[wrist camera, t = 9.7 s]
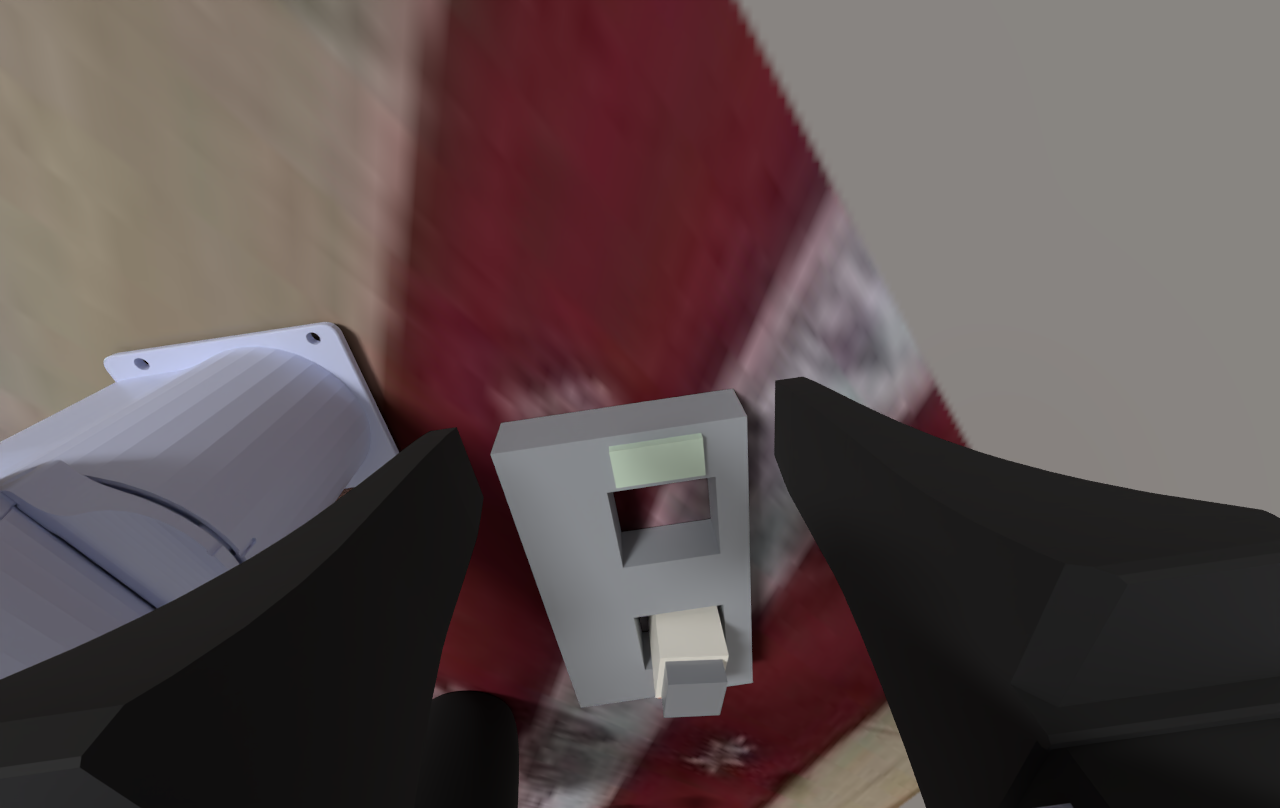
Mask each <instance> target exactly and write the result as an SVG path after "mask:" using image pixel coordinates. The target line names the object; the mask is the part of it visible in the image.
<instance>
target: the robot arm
mask: <svg viewBox="0 0 1280 808" xmlns="http://www.w3.org/2000/svg"><path fill="white" fill-rule="evenodd" d="M311 332H312V333H316V334H317V335H318V336H319V337H320V340H321V341H318V340H316V339H314V338H313V337H312V334H311ZM143 360H145V361H146V362H148V364H149V365H148V364H146V363H145V362H144V361H143ZM104 366H105V368H106V370H107V371H108V372H109V374H110V375H111V376H112V378H113V379H114V380H115V383H113V384H112V385H110V386H108V387H106V388H104V389H102V390H100V391H98V392H96V393H94V394H92V395H90V396H88V397H86V398H84V399H83V400H81V401H79V402H77V403H75V404H73V405H71V406H69V407H67V408H65V409H63V410H61V411H59V412H57V413H55V414H54V415H52V416H50V417H48V418H46V419H44V420H42V421H40V422H38V423H36V424H34V425H32V426H30V427H28V428H26V429H24V430H23V431H21V432H19V433H17V434H15V435H13V436H11V437H9V438H7V439H5V440H3V441H1V442H0V808H414V806H415V799H416V792H417V786H418V779H419V772H420V766H421V759H422V753H423V747H424V741H425V736H426V730H427V725H428V719H429V713H430V708H431V702H432V697H433V692H434V687H435V682H436V678H437V673H438V668H439V663H440V658H441V654H442V649H443V645H444V642H445V638H446V634H447V631H448V627H449V624H450V621H451V618H452V615H453V612H454V609H455V605H456V602H457V599H458V596H459V593H460V590H461V587H462V584H463V581H464V578H465V574H466V571H467V568H468V565H469V562H470V559H471V555H472V552H473V549H474V546H475V542H476V539H477V535H478V529H479V524H480V518H481V511H482V504H483V494H482V492H481V489H480V487H479V484H478V482H477V479H476V476H475V474H474V471H473V469H472V466H471V463H470V461H469V458H468V456H467V453H466V451H465V448H464V445H463V443H462V440H461V438H460V435H459V432H458V430H457V427H456V428H449V429H442V430H435V431H430V432H428V433H426V434H425V435H423V436H421V437H420V438H418V439H417V440H416V441H414V442H413V443H412V444H410V445H409V446H408V447H406V448H405V449H404V450H402V451H401V452H400V453H399V451H398V449H397V447H396V445H395V443H394V440H393V438H392V436H391V434H390V432H389V430H388V428H387V426H386V424H385V421H384V419H383V417H382V415H381V413H380V411H379V409H378V407H377V405H376V402H375V400H374V398H373V396H372V394H371V392H370V390H369V388H368V386H367V383H366V381H365V379H364V377H363V375H362V373H361V371H360V369H359V367H358V364H357V362H356V360H355V358H354V356H353V354H352V352H351V350H350V348H349V345H348V343H347V341H346V339H345V337H344V335H343V333H342V331H341V330H340V328H339V327H338V326H336V325H335V324H333V323H330V322H321V323H314V324H307V325H301V326H294V327H287V328H281V329H274V330H267V331H261V332H254V333H247V334H241V335H234V336H227V337H221V338H214V339H207V340H201V341H194V342H187V343H181V344H174V345H167V346H161V347H154V348H147V349H141V350H134V351H127V352H121V353H116V354H113V355H111V356H108V357H106V358H105V360H104ZM774 455H775V458H776V461H777V463H778V466H779V469H780V471H781V474H782V477H783V479H784V482H785V484H786V487H787V489H788V492H789V494H790V496H791V497H792V499H793V501H794V503H795V505H796V507H797V508H798V510H799V512H800V514H801V516H802V518H803V519H804V521H805V523H806V525H807V527H808V528H809V530H810V532H811V534H812V536H813V537H814V539H815V541H816V543H817V545H818V546H819V548H820V550H821V552H822V554H823V555H824V557H825V559H826V561H827V563H828V564H829V566H830V568H831V570H832V572H833V573H834V575H835V577H836V579H837V581H838V583H839V585H840V587H841V589H842V591H843V594H844V596H845V598H846V601H847V603H848V605H849V608H850V610H851V612H852V615H853V617H854V619H855V622H856V624H857V626H858V629H859V631H860V633H861V636H862V638H863V641H864V643H865V646H866V648H867V651H868V653H869V656H870V658H871V661H872V663H873V666H874V668H875V671H876V673H877V676H878V678H879V680H880V683H881V685H882V688H883V691H884V693H885V696H886V699H887V701H888V704H889V707H890V709H891V712H892V715H893V717H894V720H895V722H896V725H897V728H898V730H899V733H900V736H901V738H902V741H903V744H904V746H905V749H906V752H907V755H908V758H909V760H910V763H911V766H912V769H913V772H914V775H915V777H916V780H917V783H918V786H919V789H920V792H921V794H922V797H923V800H924V803H925V806H926V808H1280V518H1278V517H1277V516H1275V515H1273V514H1271V513H1269V512H1266V511H1264V510H1259V509H1253V508H1246V507H1240V506H1233V505H1227V504H1220V503H1214V502H1207V501H1201V500H1194V499H1187V498H1180V497H1174V496H1167V495H1161V494H1155V493H1149V492H1144V491H1138V490H1133V489H1128V488H1123V487H1118V486H1113V485H1108V484H1103V483H1098V482H1093V481H1088V480H1084V479H1079V478H1075V477H1071V476H1066V475H1062V474H1058V473H1053V472H1049V471H1046V470H1042V469H1038V468H1034V467H1030V466H1027V465H1023V464H1019V463H1015V462H1012V461H1008V460H1004V459H1001V458H998V457H994V456H991V455H987V454H984V453H981V452H978V451H975V450H972V449H969V448H966V447H963V446H960V445H957V444H954V443H952V442H949V441H946V440H943V439H940V438H938V437H935V436H932V435H930V434H927V433H924V432H922V431H920V430H917V429H915V428H912V427H910V426H908V425H905V424H903V423H901V422H898V421H896V420H894V419H891V418H889V417H887V416H885V415H882V414H880V413H878V412H876V411H874V410H872V409H870V408H868V407H866V406H863V405H861V404H859V403H857V402H855V401H853V400H851V399H849V398H847V397H845V396H843V395H841V394H839V393H837V392H835V391H833V390H831V389H829V388H827V387H825V386H823V385H821V384H819V383H817V382H815V381H812V380H810V379H808V378H805V377H797V378H790V379H784V380H777V381H775V448H774ZM352 487H355V488H353V489H352V490H351V491H349V492H348V493H346V494H345V495H344V496H342V497H341V498H340V499H338V500H337V498H338V497H339V496H340V494H341V493H342V491H343V490H344V489H346V488H352ZM336 500H337V501H336Z"/></svg>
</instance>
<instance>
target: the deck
mask: <svg viewBox="0 0 1280 808" xmlns="http://www.w3.org/2000/svg"><path fill="white" fill-rule="evenodd" d="M491 457H492V460H493V463H494V466H495V468H496V471H497V474H498V477H499V480H500V483H501V485H502V488H503V491H504V494H505V497H506V499H507V502H508V505H509V508H510V511H511V513H512V516H513V519H514V522H515V525H516V527H517V530H518V533H519V536H520V539H521V542H522V544H523V547H524V550H525V553H526V556H527V558H528V561H529V564H530V567H531V570H532V572H533V575H534V578H535V581H536V584H537V586H538V589H539V592H540V595H541V598H542V600H543V603H544V606H545V609H546V612H547V615H548V617H549V620H550V623H551V626H552V629H553V631H554V634H555V637H556V640H557V643H558V645H559V648H560V651H561V654H562V657H563V659H564V662H565V665H566V668H567V671H568V674H569V676H570V679H571V682H572V685H573V688H574V690H575V693H576V696H577V699H578V702H579V704H580V707H581V708H583V707H590V706H597V705H604V704H611V703H618V702H624V701H631V700H638V699H645V698H652V697H655V688H654V678H653V668H652V657H651V647H650V637H649V632H642V630H641V625H640V620H639V617H642V616H649V615H656V614H663V613H670V612H676V611H683V610H690V609H697V608H704V607H710V606H717V609H718V613H719V617H720V621H721V626H722V630H723V634H724V638H725V642H726V646H727V650H728V654H729V657H728V661H727V666H726V670H725V673H726V677H727V681H728V683H727V686H734V685H741V684H748V683H753V681H752V632H751V584H750V535H749V486H748V438H747V415H746V413H745V411H744V409H743V407H742V405H741V403H740V401H739V399H738V398H737V396H736V394H735V392H734V390H733V389H727V390H721V391H714V392H707V393H700V394H694V395H687V396H680V397H674V398H667V399H660V400H653V401H647V402H640V403H633V404H627V405H620V406H613V407H606V408H600V409H593V410H586V411H579V412H573V413H566V414H559V415H553V416H546V417H539V418H532V419H526V420H519V421H512V422H506V423H501V425H500V428H499V431H498V434H497V437H496V440H495V443H494V446H493V448H492V451H491ZM703 478H708V489H709V502H710V516H711V519H707V520H700V521H693V522H686V523H680V524H673V525H666V526H659V527H653V528H646V529H639V530H632V531H626V532H621V528H620V523H619V519H618V514H617V509H616V504H615V499H614V494H613V492H616V491H622V490H629V489H636V488H643V487H649V486H656V485H663V484H670V483H676V482H683V481H690V480H697V479H703ZM659 699H660V698H659Z"/></svg>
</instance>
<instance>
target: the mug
mask: <svg viewBox="0 0 1280 808" xmlns="http://www.w3.org/2000/svg"><path fill="white" fill-rule="evenodd" d="M518 786H519V749H518V734H517V727H516V723H515V719H514V716H513V713H512V711H511V709H510V708H509V707H508V706H507V704H505V703H504V702H503V701H502V700H500V699H498V698H496V697H494V696H491V695H488V694H485V693H480V692H472V691H460V692H452V693H447V694H444V695H441V696H438V697H436V698H434V699H433V700H432V702H431V708H430V713H429V719H428V725H427V730H426V736H425V741H424V747H423V753H422V759H421V766H420V772H419V779H418V786H417V792H416V799H415V806H414V808H518Z"/></svg>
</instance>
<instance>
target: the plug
mask: <svg viewBox="0 0 1280 808" xmlns="http://www.w3.org/2000/svg"><path fill="white" fill-rule="evenodd" d="M648 627H649V637H650V647H651V657H652V668H653V678H654V688H655V698H662V706H663V715H664V718H670V717H690V716H710V715H720V712H721V708H722V704H723V700H724V695H725V691H726V687H727V683H728V681H727V677H726V673H725V670H726V666H727V661H728V657H729V654H728V650H727V646H726V642H725V638H724V634H723V630H722V626H721V621H720V617H719V613H718V609H717V606H710V607H704V608H697V609H690V610H683V611H676V612H670V613H663V614H656V615H649V616H648Z"/></svg>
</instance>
